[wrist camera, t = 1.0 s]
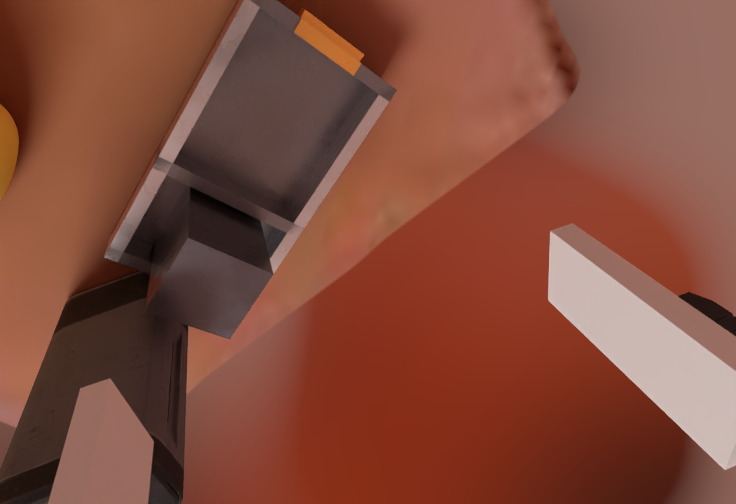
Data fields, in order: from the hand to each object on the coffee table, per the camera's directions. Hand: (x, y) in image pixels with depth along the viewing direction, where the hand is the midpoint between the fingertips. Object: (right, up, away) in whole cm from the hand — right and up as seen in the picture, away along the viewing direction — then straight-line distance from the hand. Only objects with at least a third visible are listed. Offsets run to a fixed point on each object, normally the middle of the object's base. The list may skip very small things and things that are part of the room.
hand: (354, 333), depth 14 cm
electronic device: (-21, -2, +29) cm, 36 cm away
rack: (-9, +10, +25) cm, 29 cm away
